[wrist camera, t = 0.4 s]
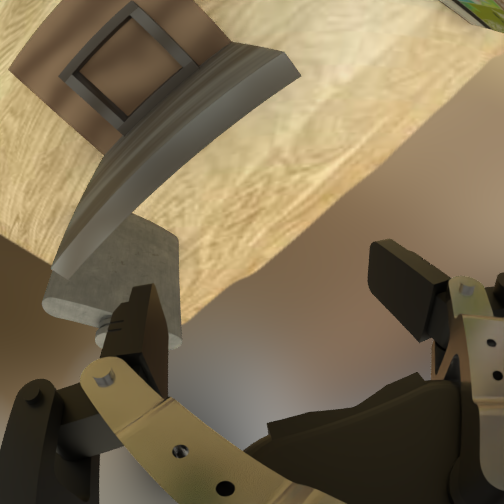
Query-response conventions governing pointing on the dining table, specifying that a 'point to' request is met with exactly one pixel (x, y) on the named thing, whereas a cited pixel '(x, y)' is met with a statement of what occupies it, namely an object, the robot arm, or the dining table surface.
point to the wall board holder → (140, 97)
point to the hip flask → (121, 278)
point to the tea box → (480, 12)
